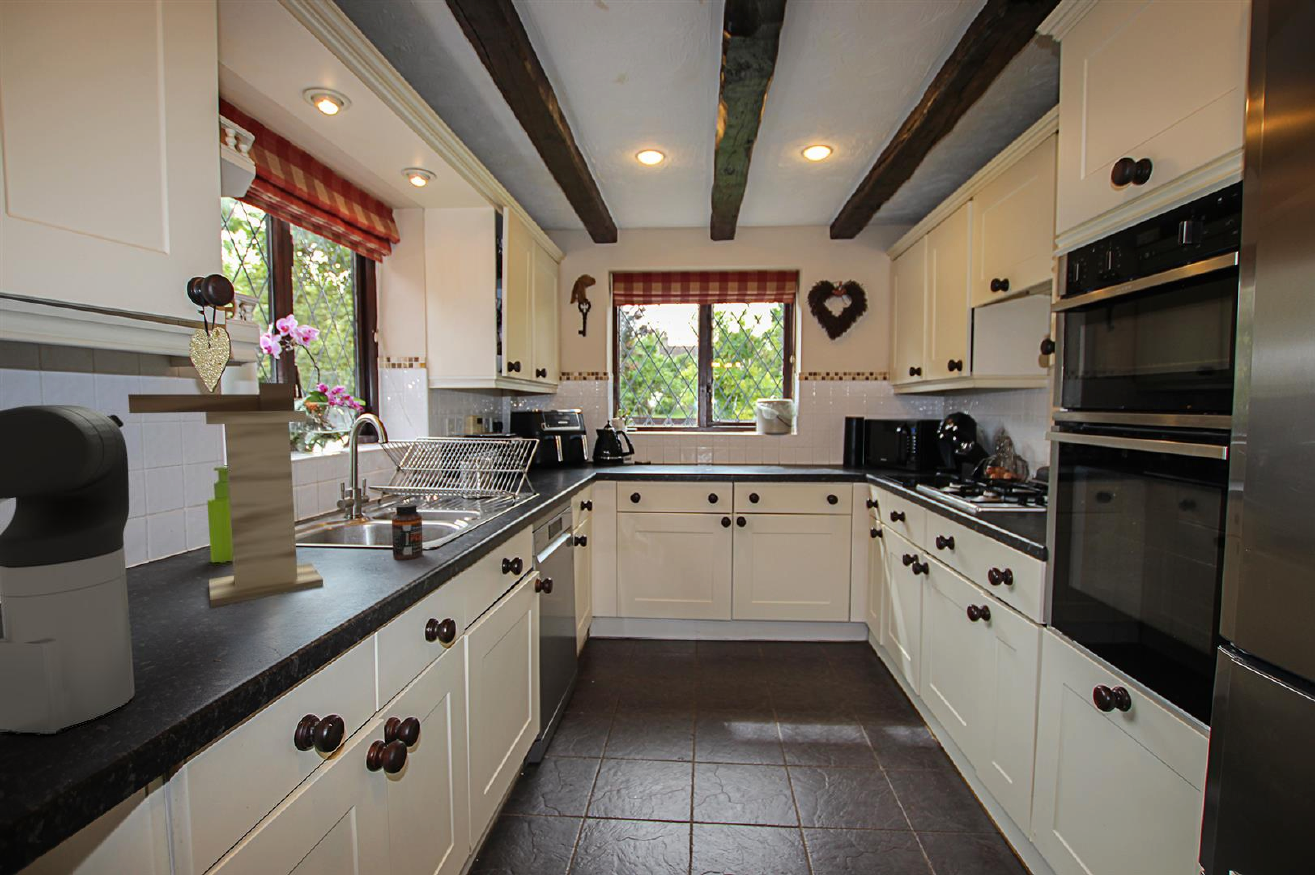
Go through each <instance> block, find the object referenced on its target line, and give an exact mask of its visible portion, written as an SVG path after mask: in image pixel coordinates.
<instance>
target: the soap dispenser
mask: <svg viewBox="0 0 1315 875" xmlns="http://www.w3.org/2000/svg"><path fill="white" fill-rule="evenodd" d="M213 470H214V472H215V471H217V475H218V481H216V482H214V483H213V491H214V494H213V495H214V497H213V498H210V499H207V517H208V518H207V520H208V531H209V532H208V533H209V547H210V561H211V563H215V562H220V563H227V562H226V561H230V562H233V557H232V540H231V524H230V508H229V491H228V475H227V466H222V467H214V468H213Z"/></svg>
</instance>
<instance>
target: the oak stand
mask: <svg viewBox="0 0 1315 875" xmlns="http://www.w3.org/2000/svg"><path fill="white" fill-rule="evenodd" d="M290 423H307V410H300V409H299V410H296V409H295V411H247V412H205V424H206V425H224V426H223V427H224V438H225V439H224V440H225V453H226V454H225V456H226V467H227V475H228V491H229V508H230V524H231V540H232V557H233V561H232V571H233V572H232V573H233V575H227V576H222V577H215V578H210V579H208V581H209V582H208V583H209V584H208V585H209V586H208V588H209V600H210V601H209V602H210V607H211V608H213V607H219V606H223V605H228V604H229V605H230V604H234V603H240V602H246V601H250V600H254V599H259V598H266V597H269V596H275V595H281V593H282V594H285V592H287V593H292V592H296V591H300V590H299V589H303V590H305V589H304V588H308V589H312V587H313V588H317V587H316V586H318V587H322V586H321V585H323V586H324V578H323V577H322V576H321V575H320V573H319V572H318V570H317V569H316V567H315V566H314V564H312V562H310V561H309V562H305V563H299V564H298V563H297V560H298V559H297V547H296V545H297V542H296V526H295V525H296V523H295V509H294V508H295V507H294V505H295V504H294V486H293V471H292V470H293V469H292V468H293V467H292V453H291V433H290V432H291V431H290V429H291V428H290ZM265 596H266V597H265Z"/></svg>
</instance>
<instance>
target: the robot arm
mask: <svg viewBox="0 0 1315 875" xmlns="http://www.w3.org/2000/svg"><path fill="white" fill-rule="evenodd" d="M124 424H125V423H124V422H123V421H122V419H120V417H119V416H118V415H117V414H111V415H106V414H104V413H103V412H100V411H98V410H96V409H92V408H89V407H84V406H80V405H63V404H61V405H60V404H46V405H45V404H40V405H38V404H37V405H23V406H22V405H21V406H17V407H13V408H7V409H4V410H0V504H1V503H4V502H6V501H8V500H10V499H15V509H14V513H13V516H12V518H11V520H10V522H9V523H8V525H7V527H5V529H4V530H3V531H2V532H1V534H0V607H1V608H0V609H1V622H2V631H3V632H2V633H3V637H2V638H0V729H6V730H12V731H18V732H40V733H43V732H45V733H48V732H56V731H57V730H59V729H60V728H64V727H68V726H70V725H73V724H78V723H81V722H84V721H87V720H91V719H93V720H95V719H94V718H96V717H98V716H100V715H103V716H105V715H104V714H106V713H108V712H110V711H112V710H114V709H116V708H118V707H120V708H121V707H122V705H123V706H124V705H126V704H128V703H129V700H130V699H131V700H132V699H133V697H134V696H135V678H134V676H135V675H134V666H133V665H134V664H133V663H134V662H133V650H132V638H131V624H130V614H129V613H130V610H129V597H128V584H127V581H128V580H127V567H126V554H125V545H124V544H125V542H124V533H125V532H124V531H125V529H126V525H127V521H128V520H129V513H130V482H129V457H128V449H127V445H126V444H127V443H126V440H125V437H124V434H123V432H122V430H121V429H120V428H122V427H124ZM131 700H130V701H131ZM125 703H126V704H125ZM118 709H119V708H118ZM116 710H117V709H116ZM114 711H115V710H114ZM112 712H113V711H112ZM110 713H111V712H110ZM108 714H109V713H108ZM106 715H107V714H106ZM96 719H97V718H96ZM91 721H92V720H91Z"/></svg>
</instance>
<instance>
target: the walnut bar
mask: <svg viewBox="0 0 1315 875" xmlns="http://www.w3.org/2000/svg"><path fill="white" fill-rule="evenodd" d="M294 386H295V385H294V383H293V382H259V383H258V388H259V389H258V390H259V394H258V393H257V394H256V393H255V394H253V393H252V394H251V393H249V394H243V393H242V394H237V393H233V394H231V393H229V394H222V393H221V394H220V393H218V394H207V393H206V394H204V393H203V394H195V393H193V394H192V393H190V394H184V393H183V394H180V393H178V394H177V393H176V394H171V393H170V394H167V393H165V394H163V393H162V394H153V393H152V394H151V393H150V394H149V393H147V394H141V393H139V394H135V393H134V394H133V393H130V394H128V395H127V396H128V410H129V412H128V413H129V414H165V413H167V414H168V413H169V414H172V413H174V414H175V413H177V414H178V413H206V412H247V411H295V410H296V409H295V408H296V407H295V388H294Z"/></svg>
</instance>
